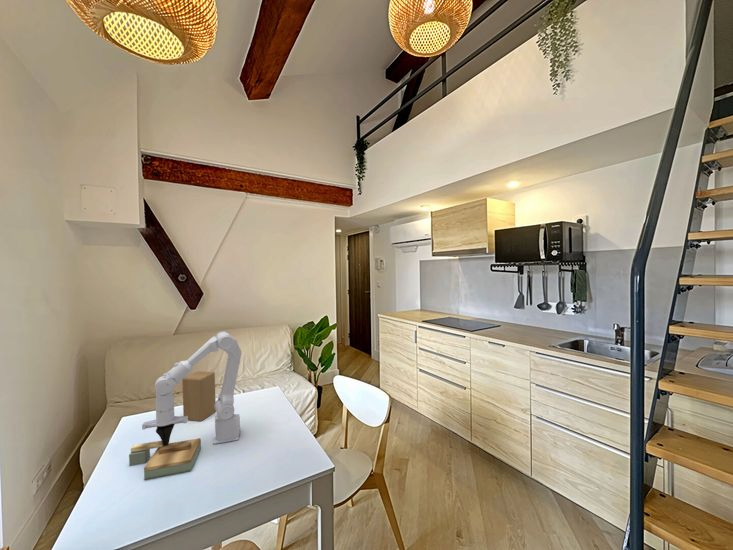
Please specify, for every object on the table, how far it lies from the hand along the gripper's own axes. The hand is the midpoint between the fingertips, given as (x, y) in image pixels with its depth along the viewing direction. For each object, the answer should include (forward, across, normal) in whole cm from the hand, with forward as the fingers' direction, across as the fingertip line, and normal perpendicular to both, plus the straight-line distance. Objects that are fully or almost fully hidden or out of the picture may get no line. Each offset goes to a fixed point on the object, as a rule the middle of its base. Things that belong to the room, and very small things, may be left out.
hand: (166, 444), depth 113 cm
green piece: (+5, -4, +6) cm, 8 cm away
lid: (+2, -4, +6) cm, 7 cm away
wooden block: (+5, -4, -32) cm, 32 cm away
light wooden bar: (0, +6, 0) cm, 6 cm away
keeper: (+5, +9, 0) cm, 10 cm away
